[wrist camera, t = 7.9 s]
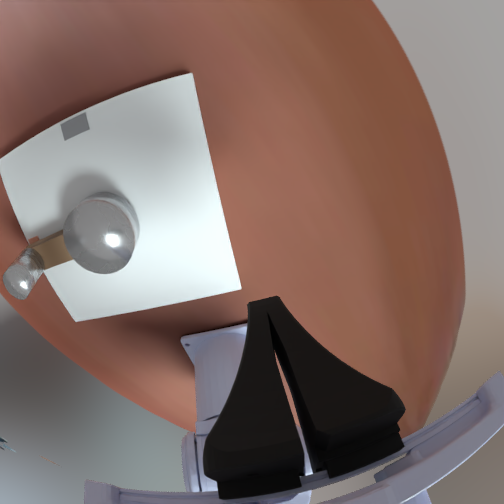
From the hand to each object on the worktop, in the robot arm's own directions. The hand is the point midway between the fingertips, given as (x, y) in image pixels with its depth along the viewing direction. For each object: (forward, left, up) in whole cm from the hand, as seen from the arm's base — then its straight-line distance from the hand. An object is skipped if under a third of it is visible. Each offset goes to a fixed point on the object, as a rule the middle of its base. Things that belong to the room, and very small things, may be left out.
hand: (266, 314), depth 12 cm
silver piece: (+3, +12, -8) cm, 14 cm away
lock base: (+3, +9, -9) cm, 13 cm away
